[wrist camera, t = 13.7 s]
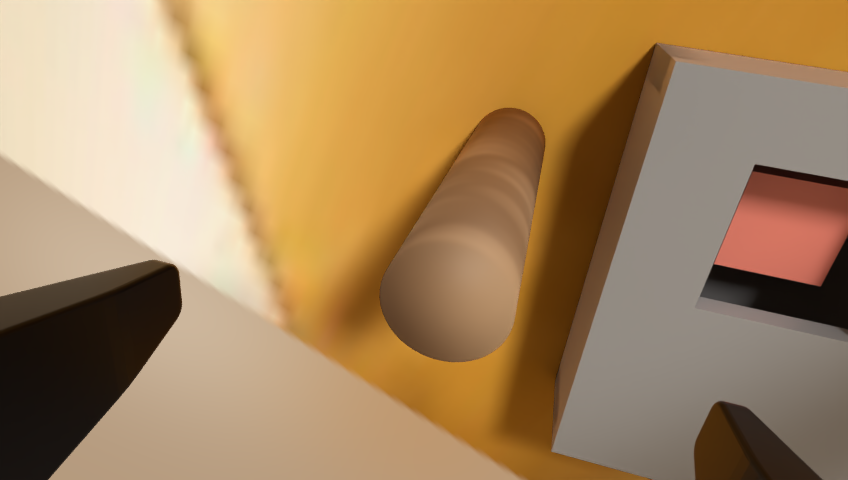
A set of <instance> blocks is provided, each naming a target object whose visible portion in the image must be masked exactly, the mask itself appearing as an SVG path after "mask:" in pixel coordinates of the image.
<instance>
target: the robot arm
mask: <svg viewBox="0 0 848 480" xmlns="http://www.w3.org/2000/svg"><path fill="white" fill-rule="evenodd" d="M181 307H182V298H181V288H180V278H179V271H178V269H177V267H176V266H175V265H173V264H170V263H166V262H162V261H158V260H149V261H145V262H141V263H137V264H133V265H128V266H124V267H120V268H116V269H112V270H108V271H104V272H100V273H96V274H91V275H88V276H83V277H79V278H75V279H71V280H67V281H63V282H58V283H54V284H50V285H46V286H42V287H38V288H34V289H30V290H26V291H21V292H17V293H13V294H9V295H5V296H1V297H0V480H48V479H49V478H50V477H51V476H52V474H54V472H55V471H56V470H57V469H58V468H59V467H60V465H61V464H62V463H63V462H64V461H65V460H66V459H67V457H68V456H69V455H70V454H71V453H72V452H73V450H74V449H75V448H76V447H77V446H78V445H79V444H80V442H81V441H82V440H83V439H84V438H85V437H86V436H87V434H88V433H89V432H90V431H91V430H92V429H93V428H94V426H95V425H96V424H97V423H98V422H99V421H100V419H101V418H102V417H103V416H104V415H105V414H106V412H107V411H108V410H109V409H110V408H111V407H112V405H114V403H115V402H116V401H117V400H118V399H119V397H120V396H121V395H122V394H123V393H124V392H125V390H126V389H127V388H128V387H129V386H130V384H131V383H132V381H133V380H134V379H135V378H136V376H137V375H138V374H139V372H140V371H141V369H142V368H143V366H144V365H145V364H146V362H147V361H148V359H149V358H150V357H151V355H152V354H153V352H154V351H155V349H156V348H157V347H158V345H159V344H160V342H161V341H162V340H163V338H164V337H165V335H166V334H167V332H168V331H169V329H170V328H171V327H172V325H173V324H174V322H175V321H176V320H177V318H178V316H179V314H180V312H181ZM694 468H695V480H823V479H822V478H821V477H820V476H819V475H818V474H816V473H815V472H814V471H813V470H812V469H811V468H810V467H809V466H808V465H807V464H806V463H805V462H804V461H803V460H802V459H801V458H800V457H799V456H798V455H797V454H796V453H795V452H794V451H793V450H791V449H790V448H789V447H788V446H787V445H786V444H785V443H784V442H783V441H782V440H781V439H780V438H779V437H778V436H777V435H776V434H775V433H774V432H773V431H772V430H771V429H770V428H769V427H768V426H766V425H765V424H764V423H763V422H762V421H761V420H760V419H759V418H758V417H757V416H756V415H755V414H754V413H753V412H752V411H751V410H750V409H748V408H747V407H745V406H741V405H737V404H733V403H729V402H725V401H718V402H716V403H715V404H714V405H713V406H712V407H711V409H710V411H709V413H708V416H707V418H706V420H705V422H704V424H703V426H702V428H701V430H700V432H699V434H698V436H697V438H696V441H695V446H694Z"/></svg>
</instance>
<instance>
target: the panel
mask: <svg viewBox="0 0 848 480" xmlns="http://www.w3.org/2000/svg"><path fill="white" fill-rule="evenodd" d="M755 164H758V165H763V166H769V167H774V168H780V169H785V170H791V171H796V172H802V173H807V174H813V175H818V176H824V177H829V178H835V179H840V180H846V181H848V72H843V71H837V70H830V69H824V68H817V67H811V66H804V65H797V64H791V63H784V62H778V61H771V60H765V59H758V58H752V57H745V56H739V55H732V54H725V53H719V52H712V51H706V50H699V49H693V48H686V47H680V46H673V45H667V44H660V43H656V45H655V49H654V52H653V55H652V59H651V62H650V65H649V69H648V72H647V75H646V79H645V82H644V85H643V89H642V92H641V95H640V99H639V102H638V105H637V109H636V112H635V115H634V119H633V122H632V125H631V129H630V132H629V136H628V139H627V142H626V146H625V149H624V152H623V156H622V159H621V162H620V166H619V169H618V172H617V176H616V179H615V182H614V186H613V189H612V192H611V196H610V199H609V202H608V206H607V209H606V212H605V216H604V219H603V222H602V226H601V229H600V233H599V236H598V239H597V243H596V246H595V249H594V253H593V256H592V259H591V263H590V266H589V269H588V273H587V276H586V279H585V283H584V286H583V289H582V293H581V296H580V299H579V303H578V306H577V309H576V313H575V316H574V319H573V323H572V326H571V330H570V333H569V336H568V340H567V343H566V346H565V350H564V353H563V356H562V360H561V363H560V366H559V370H558V373H557V376H556V380H555V391H554V410H553V429H552V448H551V452H555V453H558V454H562V455H566V456H569V457H573V458H577V459H580V460H584V461H588V462H591V463H595V464H598V465H602V466H606V467H609V468H613V469H617V470H620V471H624V472H627V473H631V474H635V475H638V476H642V477H646V478H649V479H653V480H695V468H694V446H695V441H696V438H697V436H698V434H699V432H700V430H701V428H702V426H703V424H704V422H705V420H706V418H707V416H708V413H709V411H710V409H711V407H712V406H713V405H714V404H715V403H716V402H718V401H725V402H729V403H733V404H737V405H741V406H745V407H747V408H748V409H750V410H751V411H752V412H753V413H754V414H755V415H756V416H757V417H758V418H759V419H760V420H761V421H762V422H763V423H764V424H765V425H766V426H768V427H769V428H770V429H771V430H772V431H773V432H774V433H775V434H776V435H777V436H778V437H779V438H780V439H781V440H782V441H783V442H784V443H785V444H786V445H787V446H788V447H789V448H790V449H791V450H793V451H794V452H795V453H796V454H797V455H798V456H799V457H800V458H801V459H802V460H803V461H804V462H805V463H806V464H807V465H808V466H809V467H810V468H811V469H812V470H813V471H814V472H815V473H816V474H818V475H819V476H820V477H821V478H822V479H823V480H848V236H847V238H846V240H845V242H844V244H843V246H842V247H841V249H840V251H839V253H838V255H837V257H836V259H835V261H834V262H833V264H832V266H831V268H830V270H829V272H828V274H827V276H826V277H825V279H824V281H823V283H822V285H821V286H816V285H811V284H806V283H802V282H797V281H792V280H788V279H783V278H778V277H773V276H769V275H764V274H759V273H754V272H750V271H745V270H740V269H735V268H731V267H726V266H721V265H717V264H714V261H715V258H716V256H717V254H718V251H719V249H720V246H721V244H722V242H723V239H724V237H725V235H726V232H727V230H728V227H729V225H730V223H731V220H732V218H733V215H734V213H735V211H736V208H737V206H738V203H739V201H740V199H741V196H742V194H743V191H744V189H745V187H746V184H747V182H748V180H749V177H750V175H751V172H752V170H753V168H754V165H755Z"/></svg>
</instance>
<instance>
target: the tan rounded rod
mask: <svg viewBox="0 0 848 480" xmlns="http://www.w3.org/2000/svg"><path fill="white" fill-rule="evenodd" d="M544 151H545V136H544V132H543V130H542V127H541V126H540V124H539V123H538V121H537V120H536V119H535V118H534V117H533V116H531V115H530V114H529V113H527V112H525V111H523V110H520V109H516V108H503V109H498V110H495V111H493V112H491V113H489V114H488V115H487V116H485V117H484V118H483V119H482V120H481V121H480V123H479V124H478V126H477V127H476V129H475V130H474V132H473V134H472V135H471V137H470V138H469V140H468V142H467V143H466V145H465V146H464V148H463V149H462V151H461V153H460V154H459V156H458V157H457V159H456V161H455V162H454V164H453V165H452V167H451V168H450V170H449V172H448V173H447V175H446V176H445V178H444V180H443V181H442V183H441V184H440V186H439V187H438V189H437V191H436V192H435V194H434V195H433V197H432V199H431V200H430V202H429V203H428V205H427V206H426V208H425V210H424V211H423V213H422V214H421V216H420V218H419V219H418V221H417V222H416V224H415V225H414V227H413V229H412V230H411V232H410V233H409V235H408V237H407V238H406V240H405V241H404V243H403V244H402V246H401V248H400V249H399V251H398V252H397V254H396V255H395V257H394V259H393V260H392V262H391V263H390V265H389V267H388V268H387V270H386V272H385V274H384V276H383V279H382V281H381V286H380V304H381V308H382V312H383V315H384V317H385V319H386V321H387V323H388V325H389V326H390V328H391V329H392V331H393V332H394V333H395V334H396V335H397V337H398V338H399V339H400V340H401V341H403V342H404V343H405V344H406V345H407V346H409V347H410V348H412V349H413V350H415V351H417V352H419V353H420V354H423V355H425V356H427V357H430V358H433V359H436V360H441V361H447V362H465V361H472V360H476V359H479V358H482V357H484V356H486V355H488V354H490V353H492V352H493V351H495V350H496V349H497V348H499V347H500V346H501V345H502V344H503V343H504V341H505V340H506V339H507V337H508V336H509V334H510V332H511V330H512V327H513V324H514V319H515V314H516V308H517V303H518V297H519V291H520V286H521V280H522V274H523V269H524V263H525V258H526V252H527V246H528V241H529V235H530V230H531V224H532V218H533V213H534V207H535V201H536V196H537V190H538V185H539V179H540V173H541V168H542V162H543V156H544Z"/></svg>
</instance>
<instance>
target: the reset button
mask: <svg viewBox="0 0 848 480" xmlns="http://www.w3.org/2000/svg"><path fill="white" fill-rule="evenodd" d="M847 236H848V181H846V180H840V179H835V178H829V177H824V176H818V175H813V174H807V173H802V172H796V171H791V170H785V169H780V168H774V167H769V166H763V165H758V164H755V165H754V168H753V170H752V172H751V175H750V177H749V180H748V182H747V184H746V187H745V189H744V191H743V194H742V196H741V199H740V201H739V203H738V206H737V208H736V211H735V213H734V215H733V218H732V220H731V223H730V225H729V227H728V230H727V232H726V235H725V237H724V239H723V242H722V244H721V246H720V249H719V251H718V254H717V256H716V258H715V261H714V264H717V265H721V266H726V267H731V268H735V269H740V270H745V271H750V272H754V273H759V274H764V275H769V276H773V277H778V278H783V279H788V280H792V281H797V282H802V283H806V284H811V285H816V286H821V285H822V283H823V281H824V279H825V277H826V276H827V274H828V272H829V270H830V268H831V266H832V264H833V262H834V261H835V259H836V257H837V255H838V253H839V251H840V249H841V247H842V246H843V244H844V242H845V240H846V238H847Z"/></svg>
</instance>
